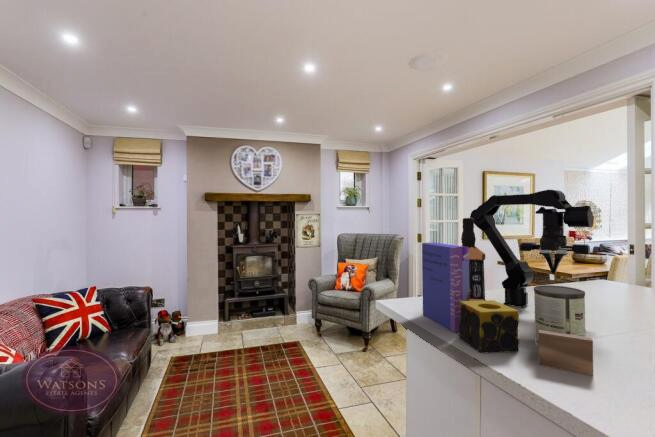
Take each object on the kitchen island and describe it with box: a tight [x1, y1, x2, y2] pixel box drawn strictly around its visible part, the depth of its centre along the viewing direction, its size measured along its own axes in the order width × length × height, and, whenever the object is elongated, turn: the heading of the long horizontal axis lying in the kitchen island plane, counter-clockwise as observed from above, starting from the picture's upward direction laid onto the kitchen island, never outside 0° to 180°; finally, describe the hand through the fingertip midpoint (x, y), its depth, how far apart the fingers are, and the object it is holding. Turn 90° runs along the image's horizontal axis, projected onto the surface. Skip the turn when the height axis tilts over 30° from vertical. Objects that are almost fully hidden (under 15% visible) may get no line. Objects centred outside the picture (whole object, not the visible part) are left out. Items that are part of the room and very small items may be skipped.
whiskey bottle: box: [460, 217, 487, 301], centre depth 114 cm, size 10×10×32 cm
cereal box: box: [421, 242, 470, 334], centre depth 97 cm, size 17×5×24 cm, turn 12°
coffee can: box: [533, 284, 586, 346], centre depth 79 cm, size 10×10×14 cm
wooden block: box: [537, 330, 594, 376], centre depth 70 cm, size 8×9×7 cm
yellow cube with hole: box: [458, 299, 520, 354], centre depth 80 cm, size 10×10×10 cm
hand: (553, 273), depth 107 cm, fingers closed
